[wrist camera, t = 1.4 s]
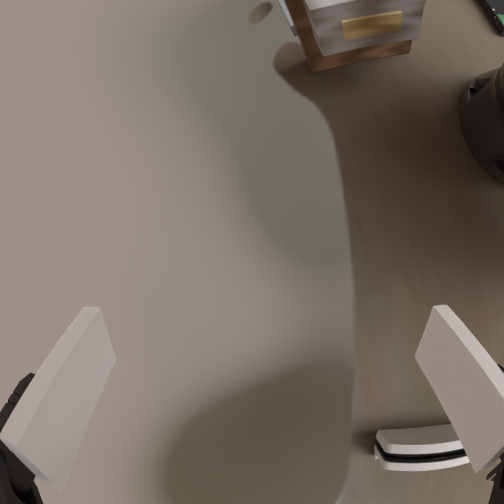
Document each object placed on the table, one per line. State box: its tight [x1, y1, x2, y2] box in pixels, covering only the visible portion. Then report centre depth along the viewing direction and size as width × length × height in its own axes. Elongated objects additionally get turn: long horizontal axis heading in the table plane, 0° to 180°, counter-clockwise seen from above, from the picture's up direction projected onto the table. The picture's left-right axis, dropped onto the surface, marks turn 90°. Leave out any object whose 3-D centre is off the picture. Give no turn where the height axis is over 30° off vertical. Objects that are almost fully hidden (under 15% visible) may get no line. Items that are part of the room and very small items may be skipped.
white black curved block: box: [374, 424, 470, 471], centre depth 28 cm, size 17×5×10 cm, turn 93°
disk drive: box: [478, 0, 504, 37], centre depth 21 cm, size 10×3×15 cm
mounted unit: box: [284, 0, 425, 73], centre depth 22 cm, size 14×6×21 cm, turn 104°
